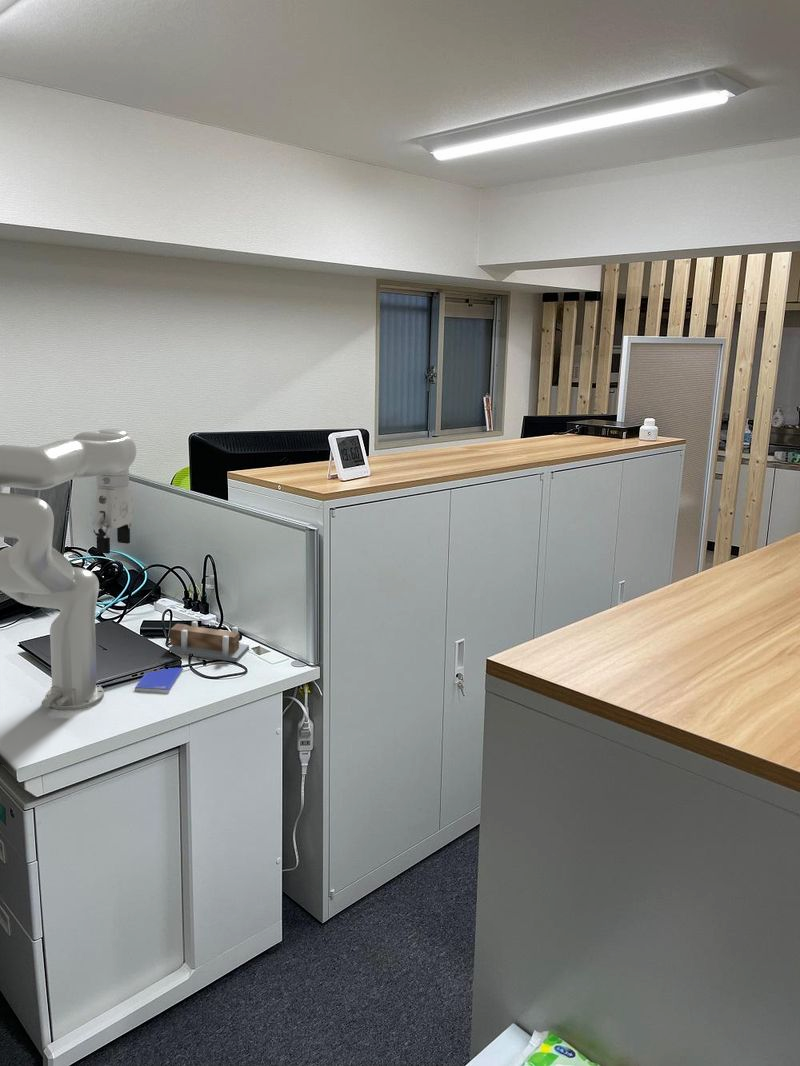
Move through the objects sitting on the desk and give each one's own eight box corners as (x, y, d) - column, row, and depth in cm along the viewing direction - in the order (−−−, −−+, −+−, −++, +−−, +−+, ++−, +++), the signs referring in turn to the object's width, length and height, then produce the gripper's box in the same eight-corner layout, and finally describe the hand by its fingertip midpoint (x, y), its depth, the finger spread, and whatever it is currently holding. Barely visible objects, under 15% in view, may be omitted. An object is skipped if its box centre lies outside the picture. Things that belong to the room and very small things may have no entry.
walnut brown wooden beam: (239, 647, 215) (239, 632, 214) (233, 653, 211) (234, 638, 210) (177, 638, 218) (177, 623, 217) (170, 644, 213) (170, 629, 212)
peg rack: (248, 649, 217) (249, 628, 216) (236, 662, 209) (237, 640, 207) (183, 639, 220) (183, 619, 219) (169, 652, 212) (169, 630, 210)
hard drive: (168, 689, 189) (182, 667, 201) (134, 686, 189) (150, 665, 201) (168, 695, 189) (182, 673, 201) (134, 692, 189) (150, 670, 201)
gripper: (108, 488, 184) (109, 558, 188) (144, 476, 200) (144, 541, 205) (78, 485, 185) (80, 555, 189) (116, 472, 201) (117, 537, 206)
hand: (113, 547), depth 197 cm, fingers open, 9 cm apart
